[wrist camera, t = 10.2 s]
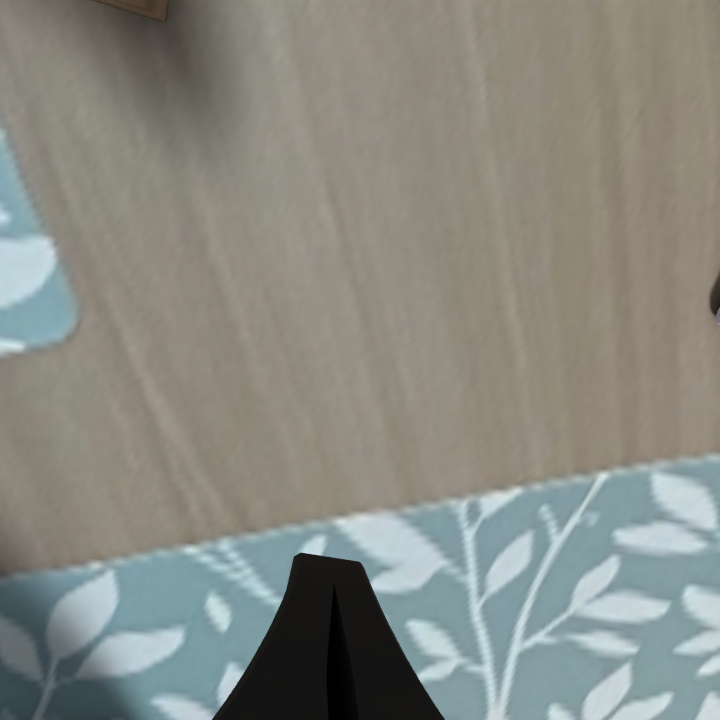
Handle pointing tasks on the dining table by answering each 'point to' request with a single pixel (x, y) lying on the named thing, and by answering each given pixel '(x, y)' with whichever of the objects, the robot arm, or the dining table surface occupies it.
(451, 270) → the dining table surface
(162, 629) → the dining table surface
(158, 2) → the bay
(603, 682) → the dining table surface
